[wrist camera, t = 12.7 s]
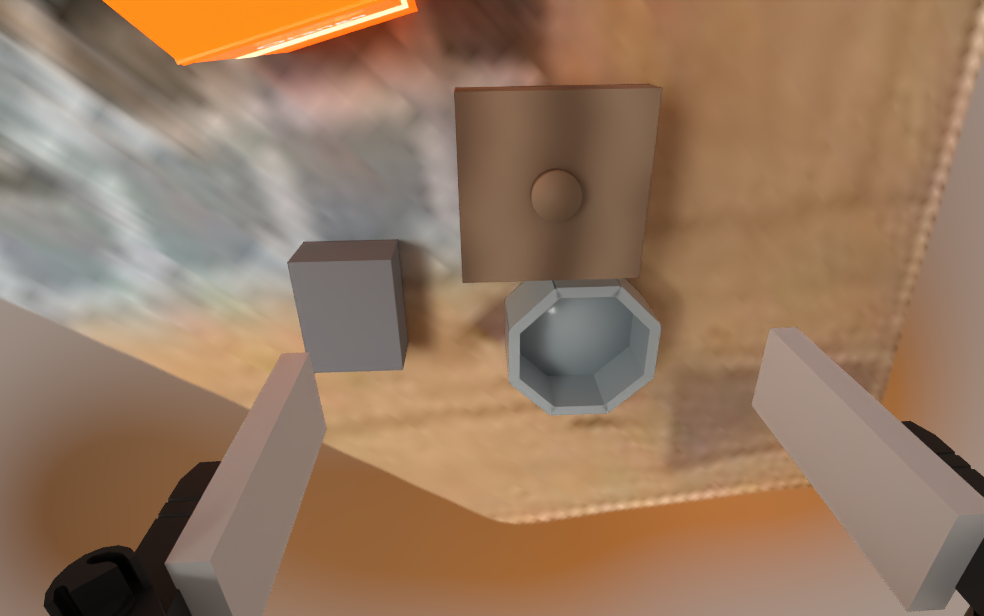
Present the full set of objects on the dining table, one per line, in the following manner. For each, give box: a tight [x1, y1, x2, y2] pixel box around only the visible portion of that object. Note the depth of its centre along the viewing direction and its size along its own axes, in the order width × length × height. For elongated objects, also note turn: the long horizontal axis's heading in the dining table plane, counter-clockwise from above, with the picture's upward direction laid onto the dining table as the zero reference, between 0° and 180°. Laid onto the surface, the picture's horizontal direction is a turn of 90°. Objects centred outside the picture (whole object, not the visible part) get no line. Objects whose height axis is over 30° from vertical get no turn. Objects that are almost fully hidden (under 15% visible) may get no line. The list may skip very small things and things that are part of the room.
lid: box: [454, 84, 662, 283], centre depth 31 cm, size 11×11×4 cm
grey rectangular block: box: [287, 240, 408, 373], centre depth 40 cm, size 7×9×4 cm
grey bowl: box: [505, 278, 661, 415], centre depth 42 cm, size 11×11×5 cm
